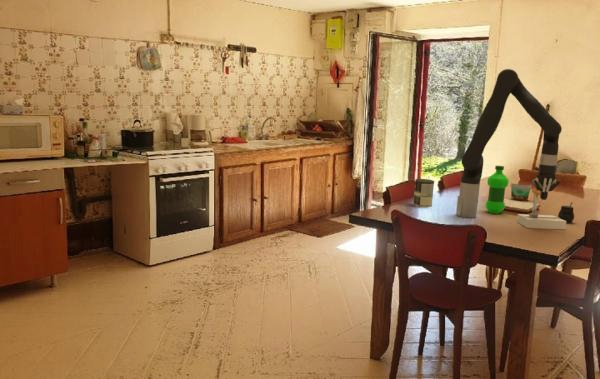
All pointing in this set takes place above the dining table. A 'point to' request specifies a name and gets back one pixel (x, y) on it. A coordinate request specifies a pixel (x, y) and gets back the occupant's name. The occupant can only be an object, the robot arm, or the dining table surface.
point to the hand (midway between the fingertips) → (543, 199)
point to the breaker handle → (535, 202)
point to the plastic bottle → (497, 191)
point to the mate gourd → (566, 213)
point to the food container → (520, 192)
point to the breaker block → (541, 221)
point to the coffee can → (423, 192)
